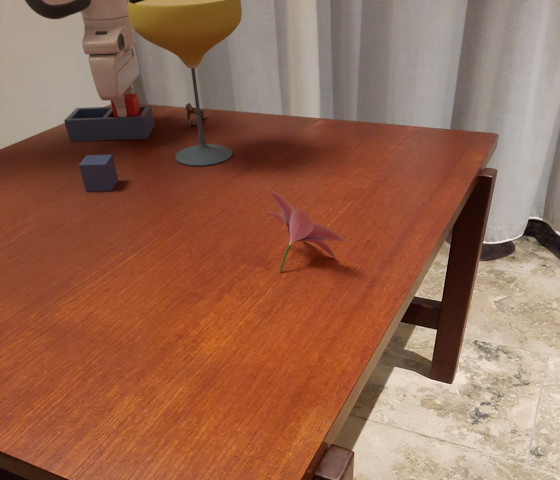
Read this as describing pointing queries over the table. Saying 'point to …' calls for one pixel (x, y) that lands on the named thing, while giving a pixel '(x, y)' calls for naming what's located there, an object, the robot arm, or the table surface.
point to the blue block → (98, 173)
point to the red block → (129, 105)
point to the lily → (302, 226)
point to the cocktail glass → (188, 48)
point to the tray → (108, 124)
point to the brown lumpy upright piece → (193, 110)
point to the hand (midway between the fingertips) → (126, 111)
